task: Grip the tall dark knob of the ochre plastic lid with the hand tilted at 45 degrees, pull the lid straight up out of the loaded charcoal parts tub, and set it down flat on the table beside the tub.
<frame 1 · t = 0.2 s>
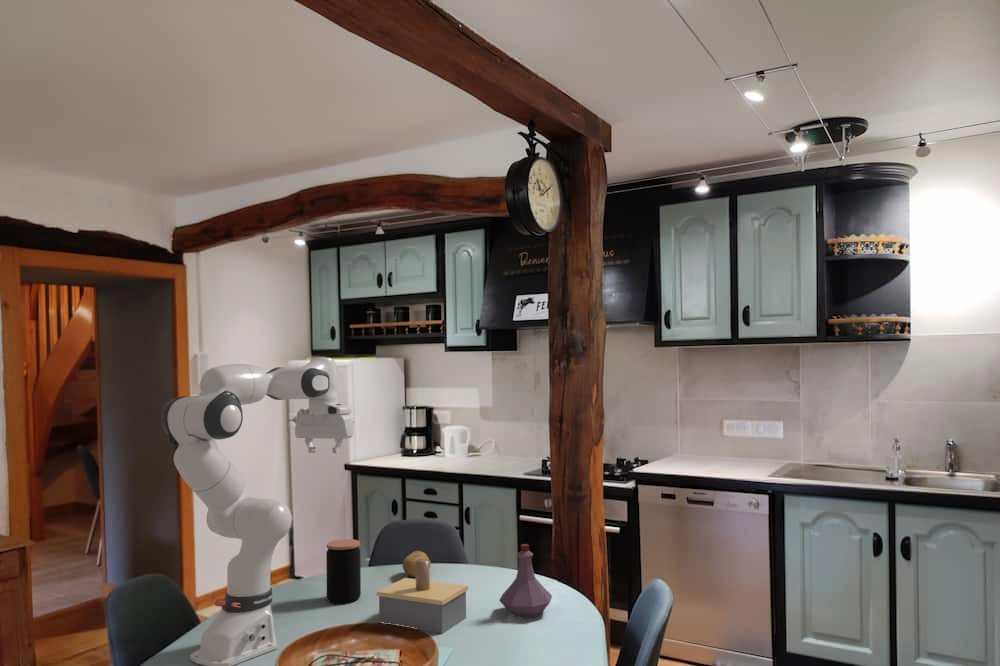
hand: (323, 453, 225), 48 cm above the table, tool pointing down, fingers open, 8 cm apart
potato: (416, 577, 256), on the table
coffee jar: (343, 600, 232), on the table
lid: (422, 598, 211), point 6 cm above the table, touching tub
tub: (423, 620, 211), on the table
flask: (526, 613, 216), on the table
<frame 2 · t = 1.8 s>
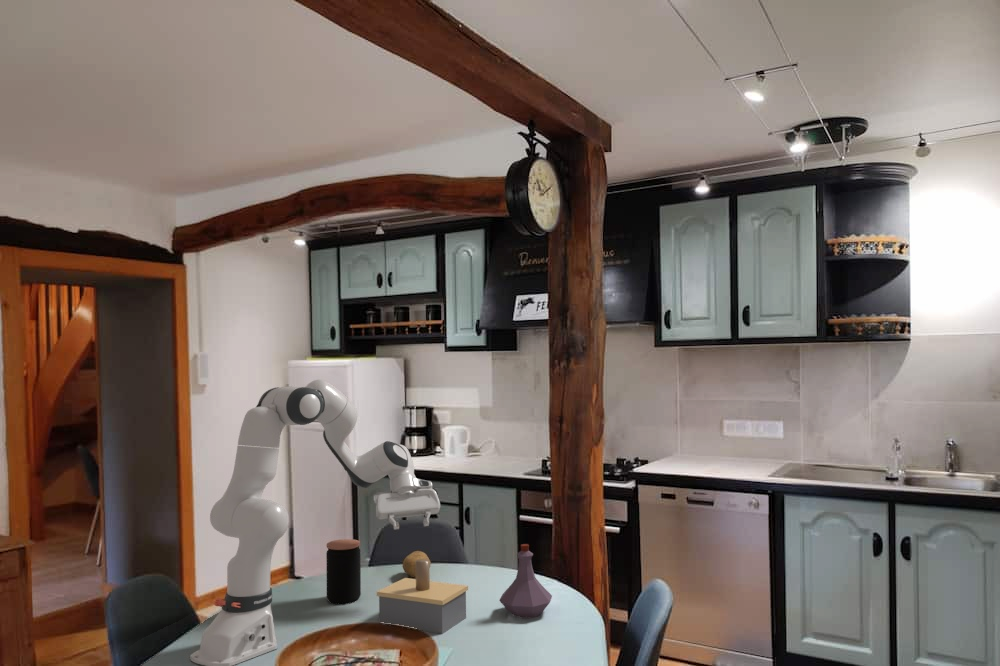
hand: (411, 526, 224), 25 cm above the table, tool tilted 45°, fingers open, 8 cm apart
nothing on the table moved.
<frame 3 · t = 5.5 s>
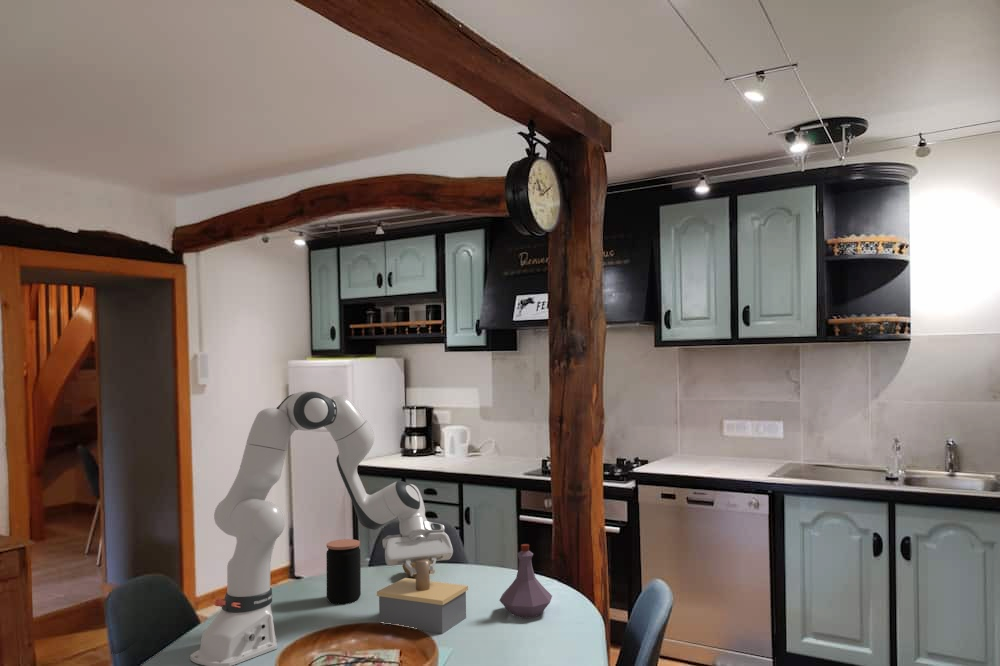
hand: (423, 574, 211), 14 cm above the table, tool tilted 45°, fingers closed on lid, 4 cm apart
lid: (422, 598, 211), point 6 cm above the table, touching gripper, tub
everything else where it was.
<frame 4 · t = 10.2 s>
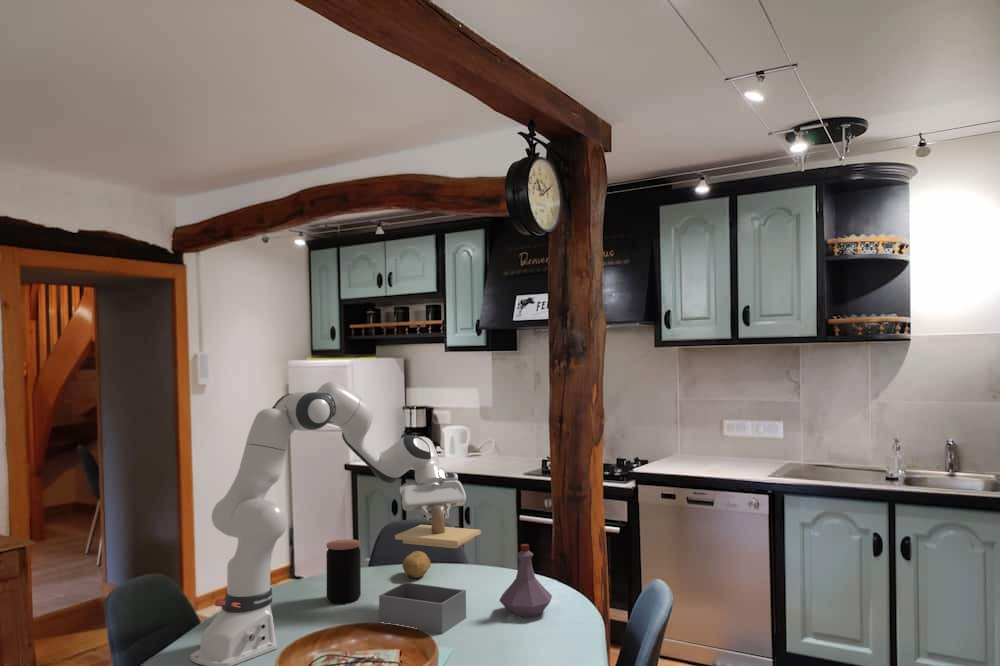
hand: (438, 518, 224), 27 cm above the table, tool tilted 45°, fingers closed on lid, 4 cm apart
lid: (438, 541, 224), point 20 cm above the table, touching gripper
everything else where it was.
when the fingers open (9 cm above the table, at t = 14.6 s): lid drops 2 cm, on the table.
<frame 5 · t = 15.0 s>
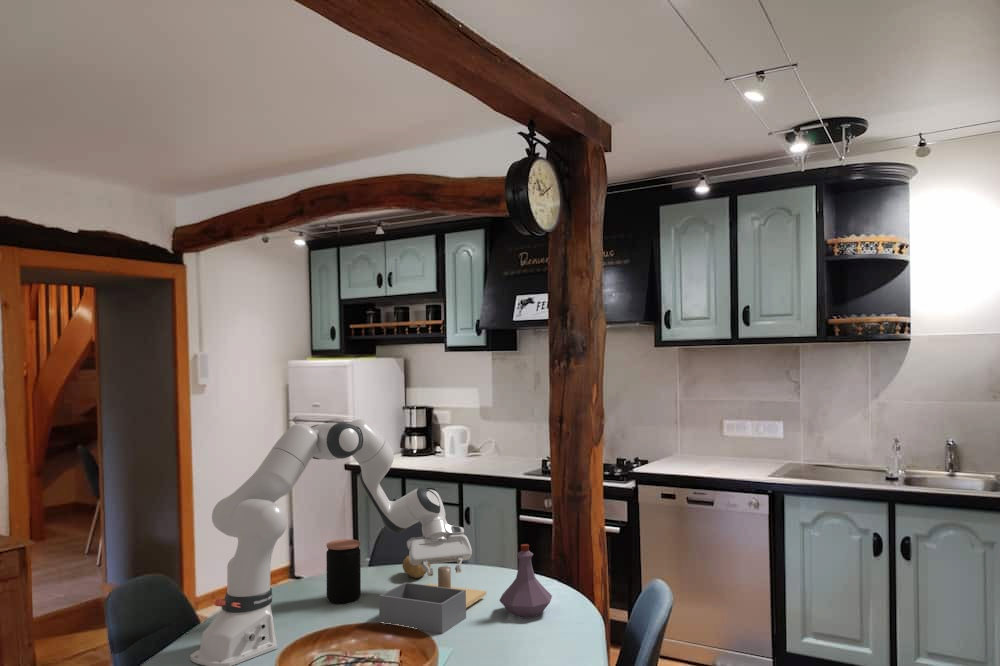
hand: (444, 573, 228), 9 cm above the table, tool tilted 45°, fingers open, 8 cm apart
lid: (444, 602, 228), on the table
everything else where it was.
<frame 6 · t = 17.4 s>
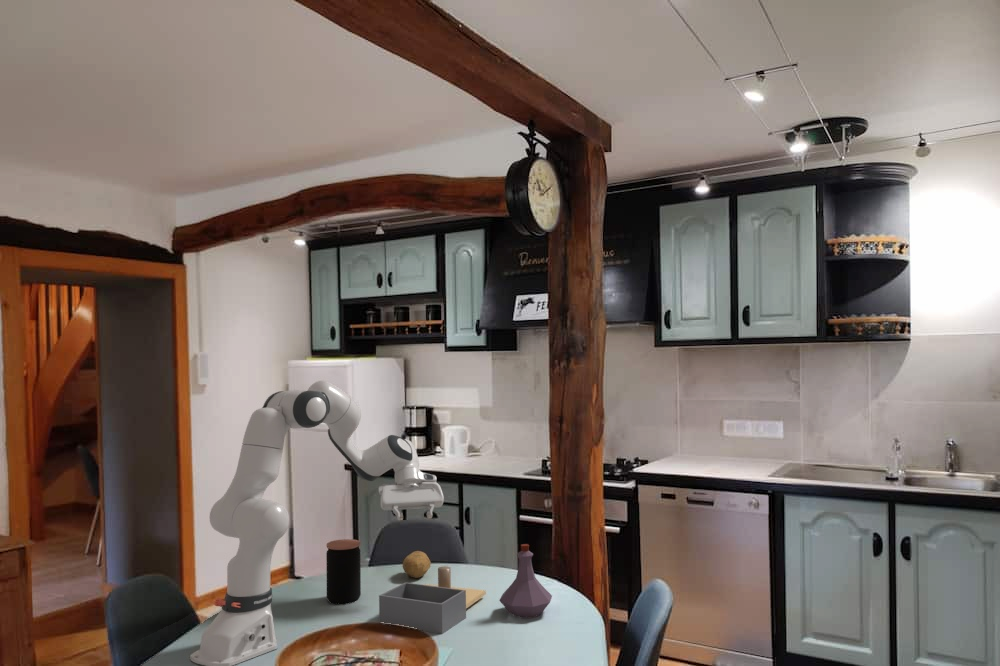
hand: (415, 518, 227), 27 cm above the table, tool tilted 45°, fingers open, 8 cm apart
nothing on the table moved.
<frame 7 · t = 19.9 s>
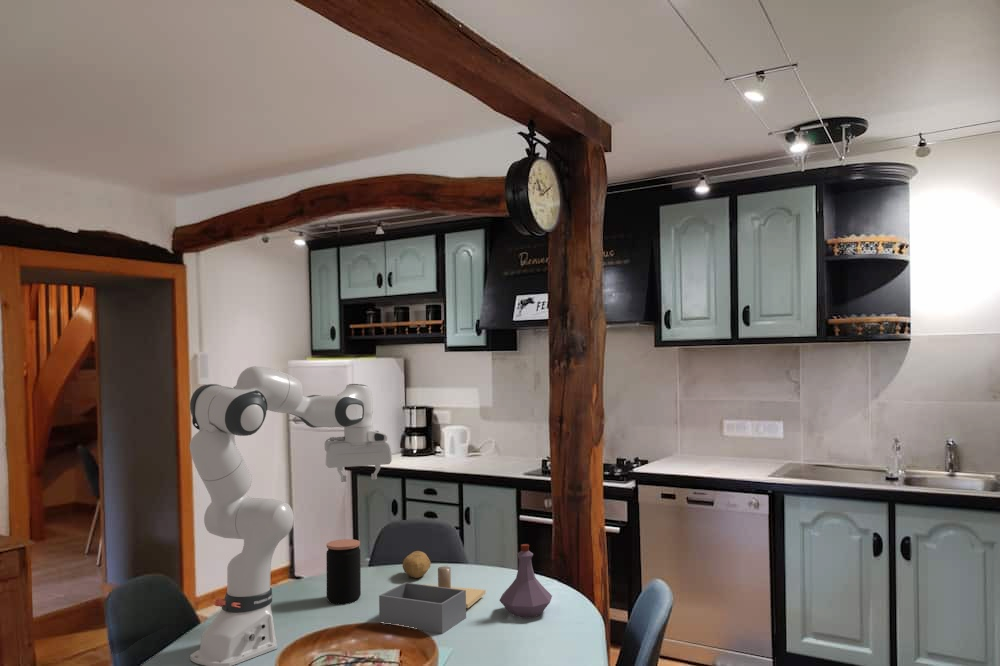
hand: (359, 480, 225), 39 cm above the table, tool pointing down, fingers open, 8 cm apart
nothing on the table moved.
at the end: lid inside the target area on the table beside the tub (0.1 cm from its centre), on the table; lid touching table; lid tilted 0° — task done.
